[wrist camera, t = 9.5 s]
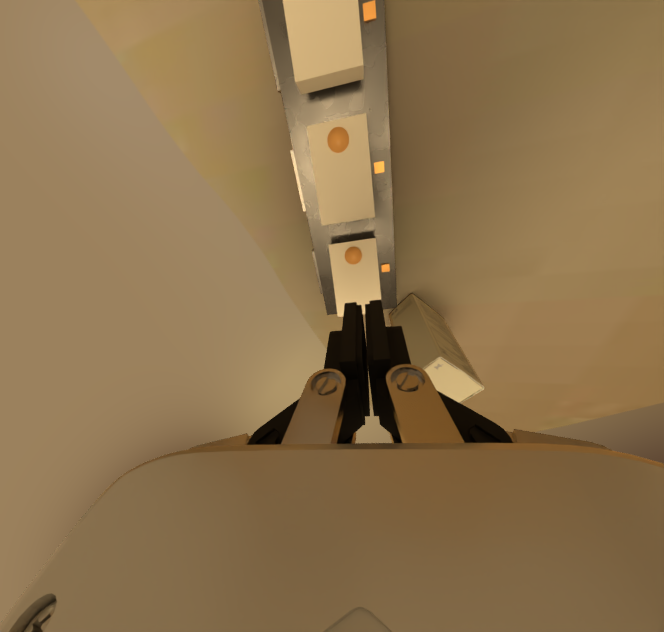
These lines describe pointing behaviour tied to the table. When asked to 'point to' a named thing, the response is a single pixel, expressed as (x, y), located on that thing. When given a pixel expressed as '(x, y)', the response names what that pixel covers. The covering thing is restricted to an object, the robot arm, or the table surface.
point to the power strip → (333, 106)
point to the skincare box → (435, 349)
